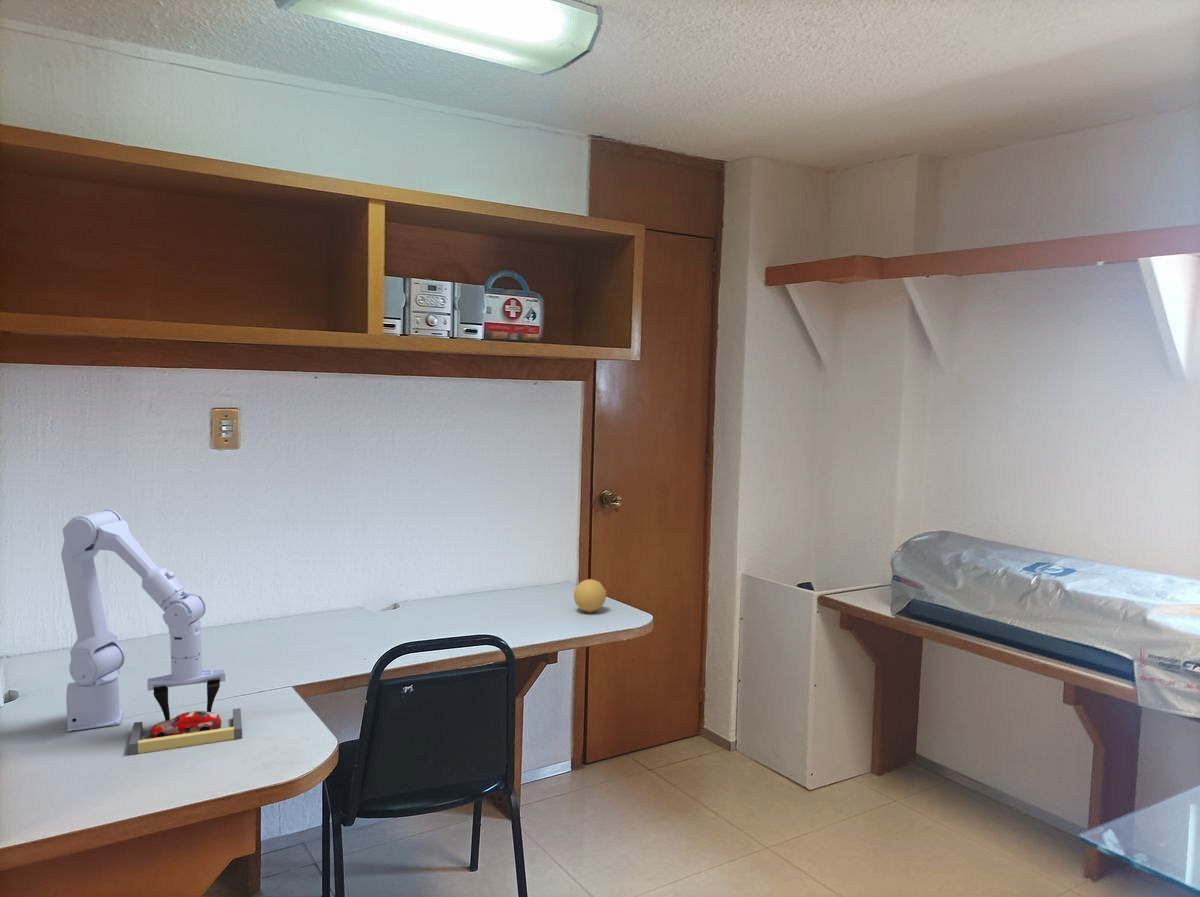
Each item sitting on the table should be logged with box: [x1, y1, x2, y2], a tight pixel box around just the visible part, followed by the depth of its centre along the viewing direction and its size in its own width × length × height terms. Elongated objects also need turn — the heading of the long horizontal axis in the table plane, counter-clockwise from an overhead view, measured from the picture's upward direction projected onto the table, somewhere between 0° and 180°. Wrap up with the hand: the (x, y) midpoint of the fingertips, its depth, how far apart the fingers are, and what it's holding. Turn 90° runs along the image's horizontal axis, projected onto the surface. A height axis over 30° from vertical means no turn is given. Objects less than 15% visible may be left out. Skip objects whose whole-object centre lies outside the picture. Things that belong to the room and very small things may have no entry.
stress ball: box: [573, 578, 607, 614], centre depth 270 cm, size 10×10×10 cm
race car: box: [148, 710, 222, 739], centre depth 178 cm, size 13×5×4 cm, turn 112°
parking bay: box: [128, 707, 243, 755], centre depth 177 cm, size 20×12×2 cm, turn 114°
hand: (188, 718), depth 182 cm, fingers open, 7 cm apart
